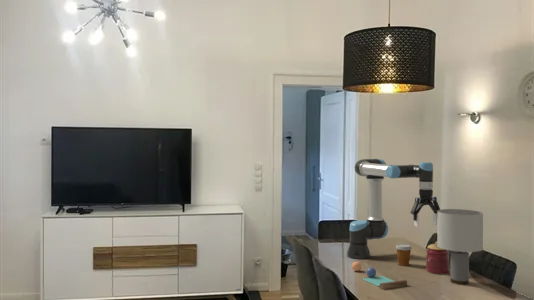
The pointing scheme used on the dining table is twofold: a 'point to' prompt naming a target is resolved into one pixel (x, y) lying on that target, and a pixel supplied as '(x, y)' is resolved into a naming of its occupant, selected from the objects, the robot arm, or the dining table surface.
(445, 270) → the canister
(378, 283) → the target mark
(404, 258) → the disposable coffee cup
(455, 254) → the lamp
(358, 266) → the orange sphere
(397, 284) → the wall
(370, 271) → the object ball
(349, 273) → the dining table surface
